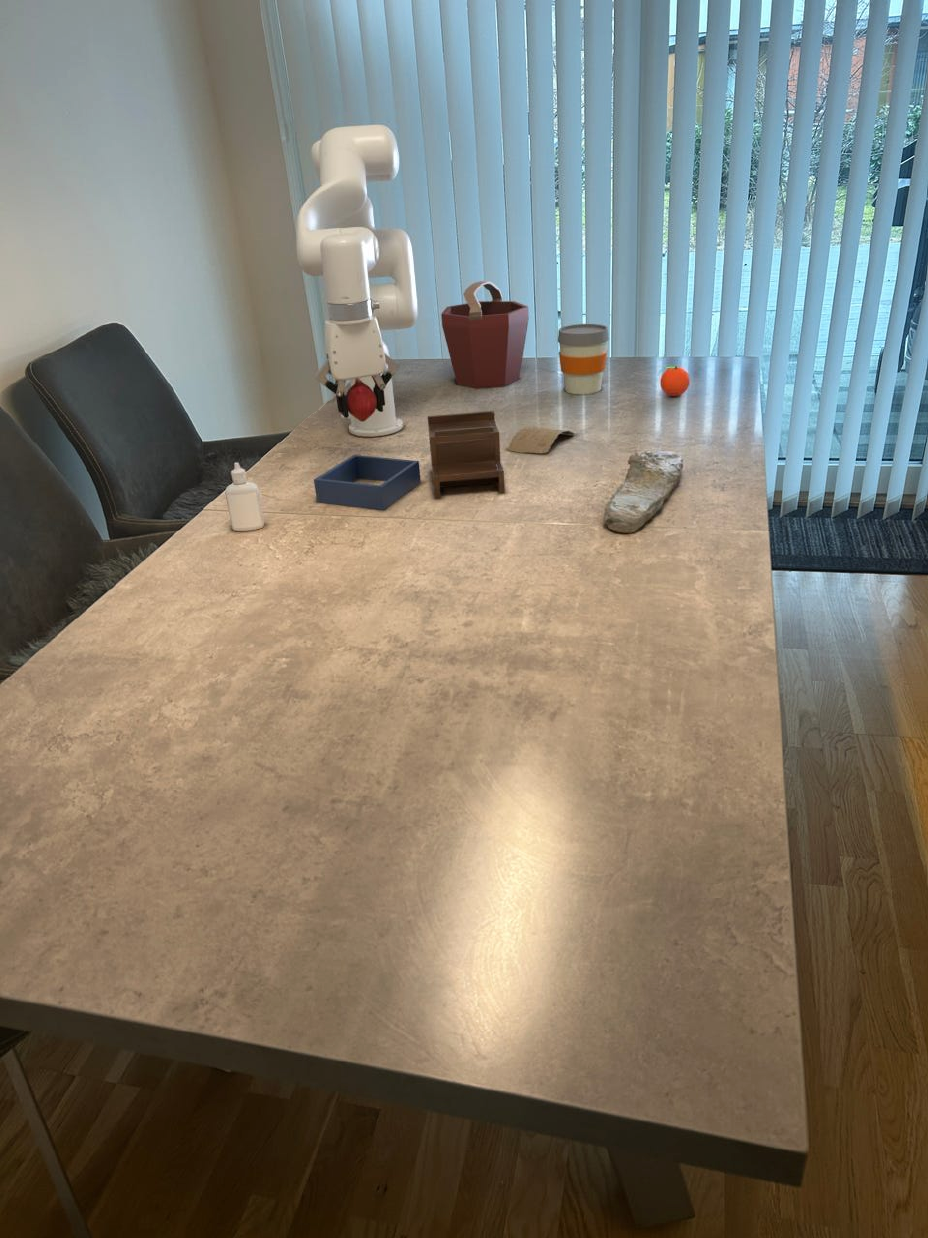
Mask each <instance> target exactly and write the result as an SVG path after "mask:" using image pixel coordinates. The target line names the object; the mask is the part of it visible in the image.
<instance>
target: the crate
mask: <svg viewBox="0 0 928 1238" xmlns="http://www.w3.org/2000/svg"><path fill="white" fill-rule="evenodd" d="M358 479H365V480H375V481H384V482H383V483H381V484H379V485H378V484H373V483H372V484H371V483H363V482H362V483H361V482H354V481H356V480H358ZM421 479H422V478H421V469H420V461H419V460H412V459H403V458H402V459H401V458H390V457H380V456H370V455H361V454H353V455H351V456H350V457H348V458H347V459H345V460H343V461H342V462H340V463H338V464H337V465H335V466H334V467H332V468H330V469H328V470H327V471H325V472H324V473H322V474H321V475H319V476H317V477H316V478H314V479H313V484H314V490H315V496H316V497H315V498H316V502H317V503H323V504H331V505H339V506H347V507H353V508H354V507H355V508H363V509H370V510H378V511H379V510H380V511H385V510H387V509H388V508H390V507H391V506H392V505H393V504H395V503H397V501H399V500H400V499H402V498H403V497H404V496H406V495H407V494H408V493H409V492H410V491H412V490H414V489H415V488H416V487H418V486H419V485H420V484H421V483H422V480H421Z"/></svg>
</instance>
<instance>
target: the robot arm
mask: <svg viewBox="0 0 928 1238" xmlns="http://www.w3.org/2000/svg"><path fill="white" fill-rule="evenodd" d="M394 134H395V133H393V131H392V130H391V129H390V128H389V127H388V126H386V125H384V124H365V125H364V124H362V125H349V126H348V125H345V126H338V127H333V128H331V129H329V130H328V131H326V132H325V133H324V134H323V135H322V137H321V139H319V140H317V141H316V142H315V143H313V145H312V147H311V149H310V150H311V151H310V156H311V162H312V166H313V169H314V173H315V175H316V178H317V180H318V183H319V187H318V188H317V189H316V190H315V191H314V192H313V193H312V194H311V195H310V196H309V197H308V198H307V199H306V201H305V202H304V203H303V204H302V205H301V207H300V209H299V212H298V214H297V217H296V223H295V224H296V226H295V246H296V247H295V249H296V258H297V262H298V264H299V267H300V269H301V270H302V272H303V273H305V274H307V275H308V276H312V277H320V276H322V277H323V282H324V290H325V296H326V303H327V312H328V319H327V320H325V321H324V353H325V360H324V362H323V364H322V365H321V367H320V368H319V369H318V371H317V373H316V374H315V375H314V378H315V380H316V381H317V382H318V383H319V384H321V385H323V386H324V387H325V388H327V390H329V391H331V392H332V393H334V395H335V397H336V405H337V412H338V413H339V414H340V418H341V420H344V421H345V420H346V421H347V420H349V421H350V423H349V426H348V431H349V433H350V434H352V435H353V436H356V437H364V438H372V437H374V438H375V437H381V436H382V437H383V436H388V435H391V434H395V433H397V432H399V431H401V430H402V429H403V428H404V421H403V420H402V419H400V418H399V417H397V416H396V415H397V414H396V408H395V407H396V406H395V395H394V385H393V376H394V375H395V374H396V372H397V371H398V370H399V368H400V366H399V364H398V363H397V362H396V361H394V360H393V359H392V358H391V357H390V356H391V355H390V351H389V348H388V345H386V343H385V342H384V340H383V338H382V333H381V331H391V330H404V329H409V328H413V327H414V326H415V325H416V324H417V321H418V315H419V308H418V296H417V295H418V294H417V287H416V286H417V285H416V276H415V275H416V274H415V264H414V262H415V261H414V255H413V254H414V253H413V248H412V241H411V240H410V237H409V235H408V233H407V232H406V231H405V230H403V229H401V228H398V227H389V228H376V226H375V217H374V216H375V215H374V207H373V203H372V201H371V199H370V197H369V196H368V189H367V183H373V182H374V183H375V182H387V181H392V180H394V179H395V178H397V175H398V173H399V169H400V153H399V148H398V143H397V139H396V137H395V135H394ZM331 226H333V228H328V227H331ZM375 278H392V279H393V280H394V282H389V283H379V284H376V283H375V284H374V283H373V284H370V282H369V279H375ZM328 374H329V375H330V376H332V378H333V380H334V382H332V381H331V380H329V379H328V378H327V375H328ZM356 378H359V379H360V381H362V382H363V383H364V384H366V385H368V386H369V387H370V388H371V389H372V391H373V392H374V393H375V395H376V397H377V407H376V409H375V412H374V413H373V414H372V415H371V416H370V417H369V418H368V419H367V420H365V421H364V422H361V421H359V420H358V419H357V418H355V417H354V416H353V415H351V414H350V413H349V411H348V405H347V398H346V394H345V391H344V390H345V388H346V382H347V381H349V384H350V388H351V387H352V386H353V385H354V384H355V380H356Z"/></svg>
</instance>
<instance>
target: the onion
mask: <svg viewBox="0 0 928 1238" xmlns="http://www.w3.org/2000/svg"><path fill="white" fill-rule="evenodd" d="M345 396H346V398H347V405H348V411H349V413H350V414H351V415H353V416H354V417H355V418H357V419H358V420H359V421H361V422H364V421H365V420H367V419H368V418H369V417H370V416H371V415H372V414H373V413H374V412H375V409H376V407H377V397H376V395H375V393H374V392H373V391H372V389H371V388H370V387H369V386H368V385H366V384H364V383H363V382H362V381H360V379H359V378H356V380H355V384H354V385H353V386H352V387H351V386H350V387H349V389H348V390H347V392H346V394H345Z"/></svg>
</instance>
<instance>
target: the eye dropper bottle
mask: <svg viewBox="0 0 928 1238" xmlns="http://www.w3.org/2000/svg"><path fill="white" fill-rule="evenodd" d="M233 466H234V467H233V469H232V470H231V471H230V474H231V479H232V483H230V484H229V485H228V486H227V487H226V488H225V491H224V493H225V499H226V504H227V510H228V515H229V519H230V523H231V524H230V525H231V528H232V530H233V531H235V532H249V531H250V532H251V531H256V530H259V529H263V528H264V526H265V518H264V512H263V506H262V502H261V496H260V491H259V490H260V489H259V486H258V485H257V484H256V483H254V482H252V481H248V479H247V473H246V469H245V468H242V467H241V466H240V463H239V462H234V465H233Z"/></svg>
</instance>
